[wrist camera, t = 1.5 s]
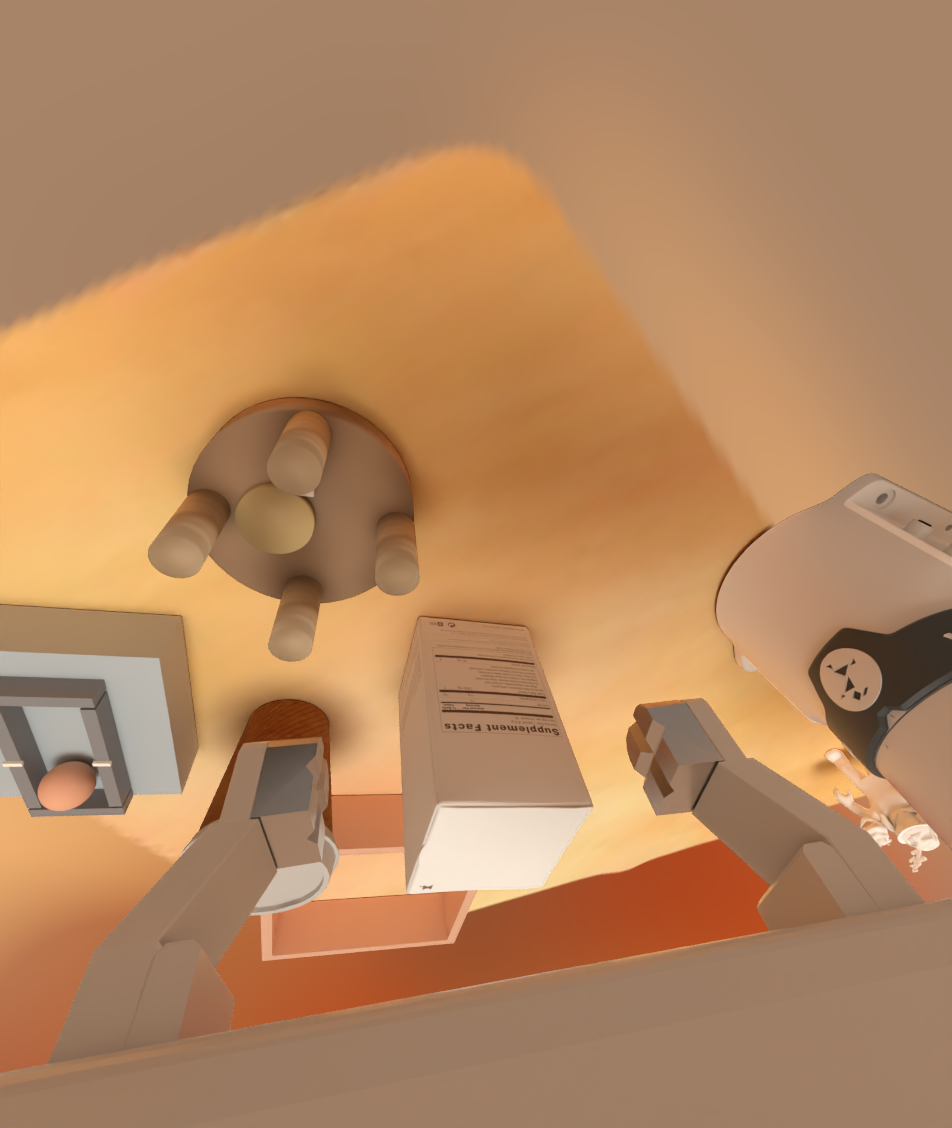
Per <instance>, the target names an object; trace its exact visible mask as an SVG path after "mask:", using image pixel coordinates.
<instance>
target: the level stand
mask: <svg viewBox="0 0 952 1128" xmlns="http://www.w3.org/2000/svg"><path fill="white" fill-rule="evenodd" d="M197 751H198V741H197V733H196V725H195V717H194V709H193V701H192V694H191V686H190V678H189V670H188V662H187V654H186V646H185V638H184V630H183V622H182V616H172V615H157V614H141V613H125V612H110V611H94V610H78V609H62V608H47V607H31V606H15V605H0V797H15V796H16V797H17V796H18V797H19V796H22V797H23V799H24V802H25V804H26V806H27V808H29V813H30V815H31V816H32V817H38V816H39V817H40V816H79V815H80V816H82V815H123V814H125V812H126V810H127V808H128V806H129V804H130V801H131V799H132V797H133V795H147V794H182V792H183V789H184V786H185V784H186V781H187V778H188V775H189V773H190V770H191V767H192V764H193V762H194V759H195V756H196V754H197ZM71 761H78V762H83V763H86V764H88V765H89V766H91V767H92V768H93V770H94V771H95V773H96V778H97V781H96V786H95V789H94V791H93V793H92V794H91V796H90V797H89V798H88V799H87V800H86V801H85V802H83V803H82V804H81V805H79V806H77V807H75V808H73V809H70V810H66V811H53V810H50V809H47V808H46V807H44V806H43V805H42V804H41V803H40V801H39V799H38V786H39V784H40V782H41V780H42V778H43V777H44V776H45V775H46V774H47V773H48V772H49V771H50V770H51V769H53V768H54V767H56V766H58V765H60V764H62V763H66V762H71Z"/></svg>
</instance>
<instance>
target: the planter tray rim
mask: <svg viewBox="0 0 952 1128" xmlns="http://www.w3.org/2000/svg"><path fill="white" fill-rule="evenodd" d="M331 799H332V805H331V806H332V827H333V831H332V832H333V835H334V838H335V840H336V844H337V846H338V850H339V855H361V854H383V853H404V852H405V851H404V826H403V800H402V795H346V796H332V797H331ZM476 892H477V890H466V891H448V892H443V893H428V894H413V895H398V896H383V897H369V898H354V899H339V900H324V901H310V902H308V903H306V904H304V905H302V906H300V907H297V908H294V909H290V910H287V911H283V912H278V913H272V914H264V915H261V936H262V937H261V938H262V960H263V961H266V960H277V959H287V958H298V957H309V956H320V955H330V954H340V953H352V952H362V951H373V950H383V949H395V948H405V947H415V946H426V945H437V944H448V943H454V941H455V939H456V937H457V935H458V932H459V930H460V928H461V926H462V923H463V921H464V919H465V917H466V914H467V912H468V910H469V908H470V905H471V903H472V901H473V899H474V896H475V894H476Z"/></svg>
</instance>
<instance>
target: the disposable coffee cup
mask: <svg viewBox="0 0 952 1128" xmlns="http://www.w3.org/2000/svg"><path fill="white" fill-rule="evenodd" d="M314 737H322V741H323V745H324V751H323V758H324V759H325V760H327V765H328V774H329V794H328V806H327V808H326V809H325V810H324V812H323V813H322V815H323V819H324V824H325V836H324V846H323V856H322V862H316V863H310V864H304V865H298V866H292V867H286V868H280V869H277V873H276V875H275V877H274V878H273V880H272V881H271V883H270V884H269V886H268V887H267V889H266V890H265V892H264V894H263V895H262V897H261V898H260V900H259V901H258V903H257V904H256V906H255V908H254V909H253V911H252V912H251V914H250V915H264V914H272V913H278V912H283V911H287V910H290V909H294V908H297V907H300V906H302V905H304V904H306V903H308V902H310V901H312V900H313V899H315V898H317V897H318V896H319V895H320V894H321V893H322V892H323V891H324V890H325V889H326V888H327V885H328V883H329V881H330V877H331V873H332V872H333V871H334V869H335V868H336V866H337V864H338V860H339V850H338V846H337V844H336V840H335V838H334V835H333V832H332V831H333V827H332V806H331V805H332V799H331V797H332V795H331V776H330V775H331V771H330V748H329V747H330V744H329V721H328V719H327V717H326V715H325V714H324V713H323V712H322V711H321V710H320V709H319V708H317V707H315V706H313V705H312V704H309V703H305V702H302V701H296V700H280V701H273V702H271V703H268V704H265V705H263V706H261V707H259V708H258V709H257V710H255V711H254V712H253V714H252V715H251V717H250V718H249V721H248V723H247V725H246V728H245V730H244V732H243V734H242V736H241V738H240V741H239V743H238V745H237V748H236V750H235V752H234V754H233V756H232V758H231V761H230V763H229V765H228V767H227V770H226V772H225V774H224V776H223V778H222V780H221V783H220V785H219V787H218V789H217V792H216V794H215V796H214V798H213V800H212V803H211V805H210V807H209V809H208V812H207V814H206V816H205V818H204V821H203V823H202V825H201V827H200V829H199V832H197V833H196V835H195V836H194V837H193V838H192V840H191V841H190V843H189V844H188V845H187V846H186V847H185V849H184V851H183V853H182V855H183V854H184V852H185V851H186V850H187V849H188V848H189V847H190V846H191V845H192V844H193V843H194V842H195V840H196V839H197V838H198V837H199V836H200V835H201V834H202V833H203V832H204V831H205V830H206V828H207V827H208V826H209V825H210V824H215V823H219V820H220V816H221V813H222V809H223V806H224V802H225V799H226V795H227V791H228V788H229V784H230V781H231V777H232V774H233V770H234V767H235V763H236V760H237V756H238V753H239V750H240V749H241V747H242V745H243V744H244V743H252V742H262V741H275V740H288V739H301V738H314ZM182 855H181V856H182Z"/></svg>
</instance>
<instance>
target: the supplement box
mask: <svg viewBox="0 0 952 1128" xmlns="http://www.w3.org/2000/svg"><path fill="white" fill-rule="evenodd" d="M399 723H400V749H401V774H402V800H403V826H404V851H405V876H406V892H407V893H408V894H421V893H433V892H448V891H466V890H516V889H531V888H537V887H542V886H543V885H544V883H545V881H546V880H547V878H548V877H549V875H550V874H551V872H552V870H553V869H554V867H555V866H556V864H557V862H558V861H559V859H560V858H561V856H562V854H563V853H564V851H565V850H566V848H567V847H568V845H569V844H570V842H571V841H572V839H573V837H574V836H575V834H576V833H577V831H578V830H579V828H580V827H581V825H582V823H583V822H584V820H585V819H586V817H587V816H588V814H589V813H590V811H591V810H592V808H593V804H592V801H591V798H590V795H589V793H588V790H587V787H586V785H585V782H584V780H583V777H582V774H581V772H580V769H579V766H578V764H577V761H576V758H575V755H574V753H573V750H572V747H571V745H570V742H569V739H568V737H567V734H566V731H565V728H564V726H563V723H562V720H561V718H560V715H559V712H558V710H557V707H556V704H555V701H554V699H553V696H552V693H551V690H550V688H549V685H548V682H547V679H546V677H545V674H544V671H543V669H542V666H541V663H540V661H539V658H538V655H537V653H536V650H535V647H534V644H533V642H532V639H531V636H530V634H529V631H528V628H527V627H521V626H511V625H501V624H491V623H481V622H471V621H461V620H450V619H439V618H429V617H419V619H418V621H417V625H416V629H415V633H414V637H413V641H412V645H411V649H410V653H409V657H408V661H407V665H406V669H405V673H404V677H403V681H402V685H401V689H400V693H399Z"/></svg>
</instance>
